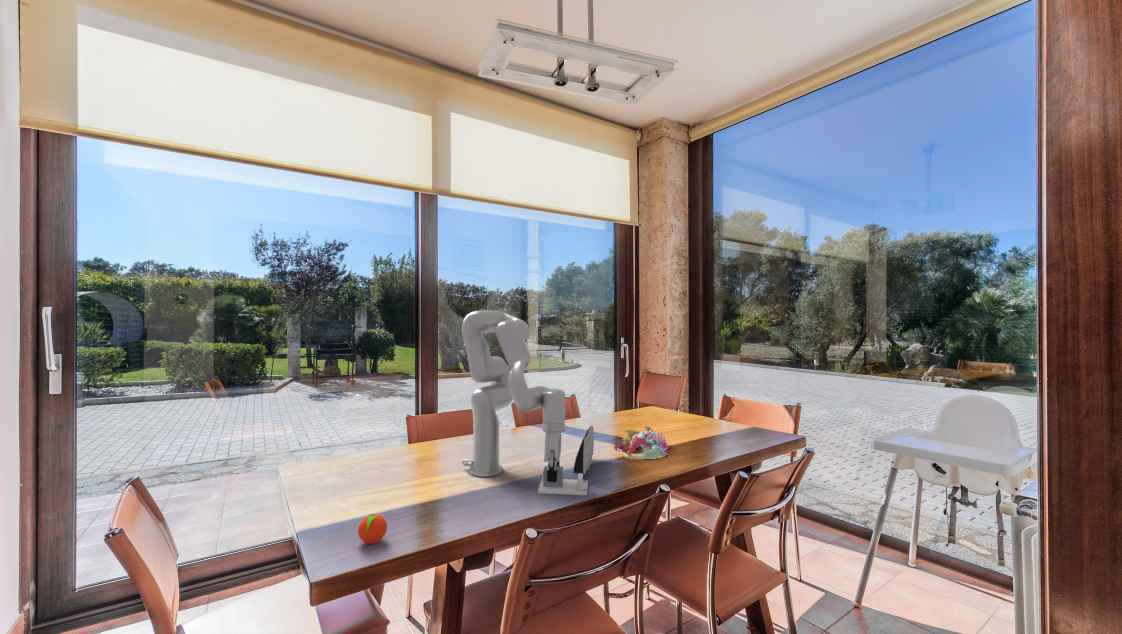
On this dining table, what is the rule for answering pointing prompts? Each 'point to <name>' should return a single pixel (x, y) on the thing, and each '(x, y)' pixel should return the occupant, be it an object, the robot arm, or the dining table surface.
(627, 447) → the candy landscape model
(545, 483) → the module
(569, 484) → the plate
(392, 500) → the dining table surface
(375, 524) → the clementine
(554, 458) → the robot arm
